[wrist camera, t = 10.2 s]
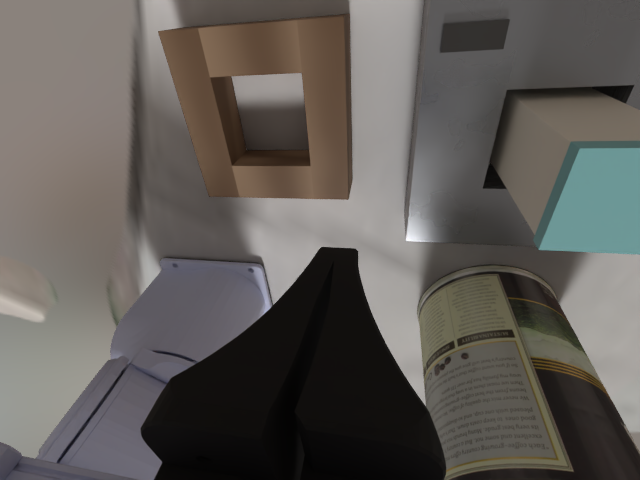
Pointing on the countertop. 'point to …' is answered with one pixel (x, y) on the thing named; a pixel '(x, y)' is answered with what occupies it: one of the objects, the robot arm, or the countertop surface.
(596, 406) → the coffee can
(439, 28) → the port panel
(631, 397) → the countertop surface
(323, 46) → the wooden square frame
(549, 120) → the plug
